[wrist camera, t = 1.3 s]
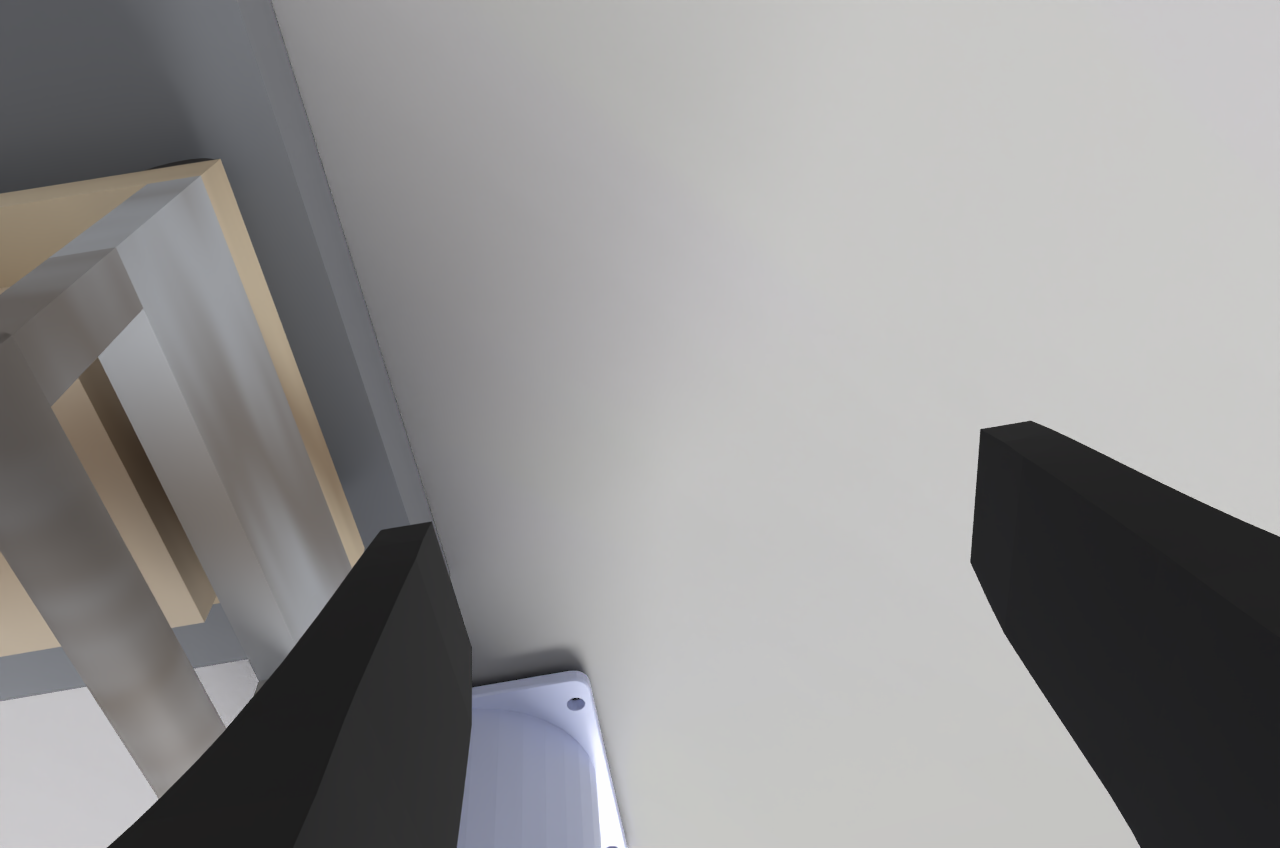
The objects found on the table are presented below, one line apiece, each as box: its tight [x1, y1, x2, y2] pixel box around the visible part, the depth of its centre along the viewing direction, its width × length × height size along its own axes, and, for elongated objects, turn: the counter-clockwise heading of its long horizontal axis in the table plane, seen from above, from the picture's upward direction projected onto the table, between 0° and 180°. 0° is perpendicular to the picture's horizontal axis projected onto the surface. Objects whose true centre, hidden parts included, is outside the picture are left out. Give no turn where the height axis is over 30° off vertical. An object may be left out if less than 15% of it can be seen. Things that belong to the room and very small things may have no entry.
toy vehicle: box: [0, 158, 365, 799], centre depth 14 cm, size 8×7×9 cm
